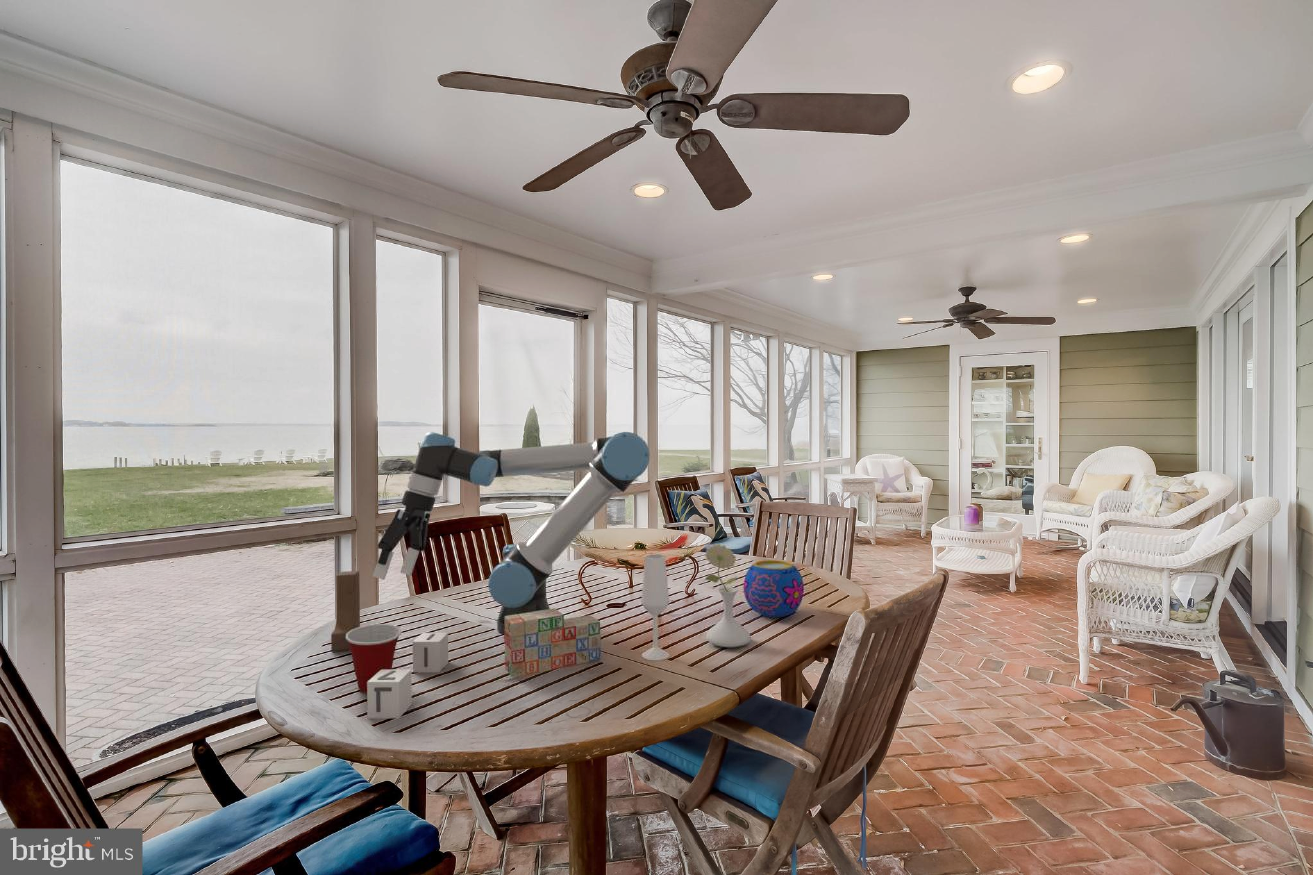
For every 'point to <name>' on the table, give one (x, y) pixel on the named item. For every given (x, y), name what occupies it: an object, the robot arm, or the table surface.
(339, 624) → the wooden block
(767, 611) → the ceramic pot
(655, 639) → the champagne flute
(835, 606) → the table surface
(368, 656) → the plastic cup
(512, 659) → the stack of blocks
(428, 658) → the marked block 1
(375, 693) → the marked block 7
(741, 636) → the flower in vase
